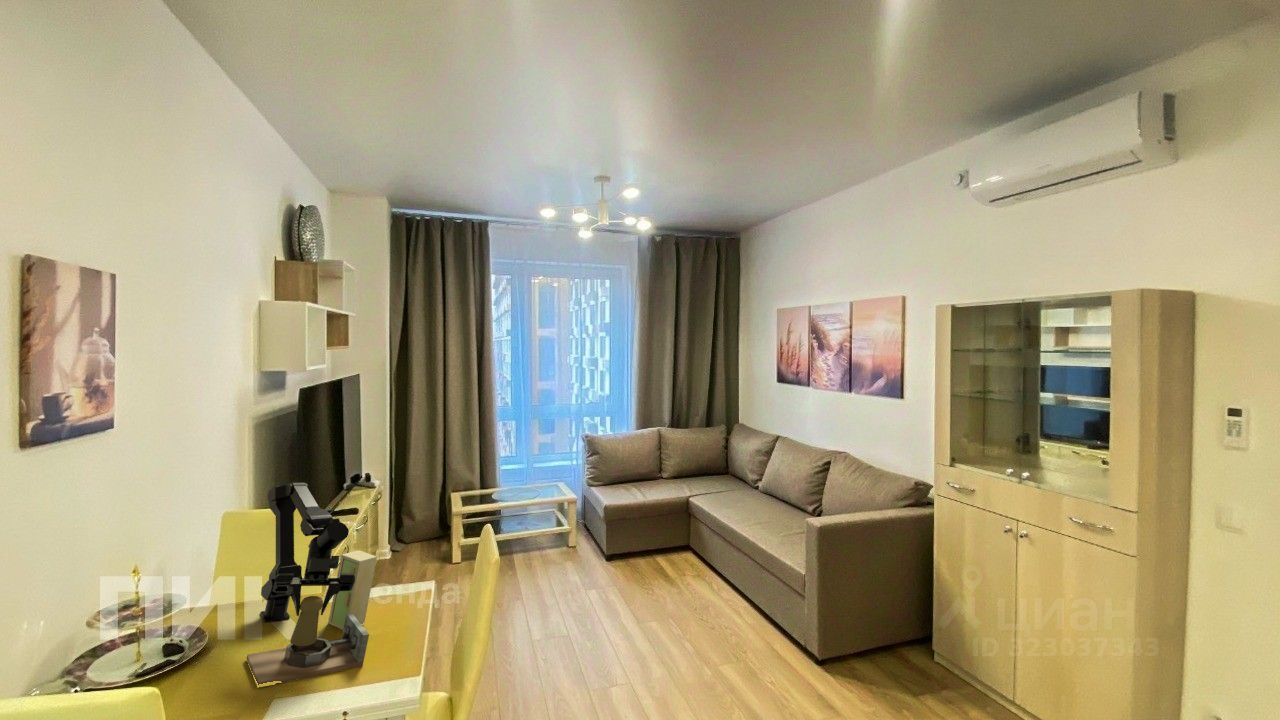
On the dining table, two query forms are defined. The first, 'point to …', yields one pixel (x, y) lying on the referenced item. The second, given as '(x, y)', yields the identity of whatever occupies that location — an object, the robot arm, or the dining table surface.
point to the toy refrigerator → (353, 588)
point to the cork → (307, 622)
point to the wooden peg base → (340, 658)
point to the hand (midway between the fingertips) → (309, 615)
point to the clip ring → (319, 645)
